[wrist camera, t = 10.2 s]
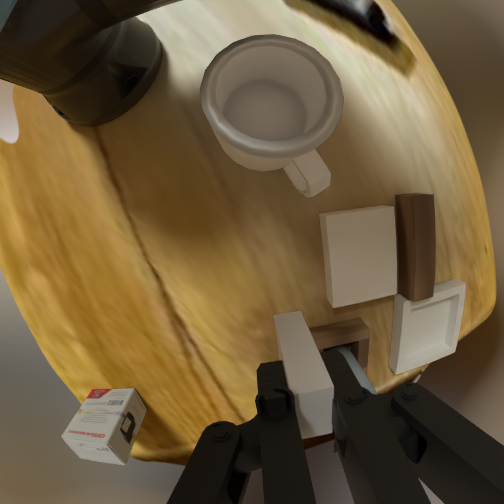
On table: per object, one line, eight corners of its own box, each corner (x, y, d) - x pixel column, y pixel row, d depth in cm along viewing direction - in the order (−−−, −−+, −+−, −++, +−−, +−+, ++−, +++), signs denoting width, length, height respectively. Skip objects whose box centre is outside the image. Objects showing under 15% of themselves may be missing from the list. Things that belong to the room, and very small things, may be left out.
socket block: (309, 373, 34) (313, 387, 31) (306, 329, 32) (311, 341, 29) (358, 362, 34) (366, 375, 31) (360, 318, 32) (369, 328, 29)
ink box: (105, 410, 35) (78, 459, 23) (91, 388, 34) (58, 436, 22) (148, 410, 35) (126, 467, 23) (135, 387, 34) (106, 444, 22)
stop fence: (398, 291, 31) (414, 302, 28) (395, 194, 29) (413, 196, 25) (416, 286, 31) (433, 296, 28) (414, 193, 29) (433, 194, 25)
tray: (388, 365, 34) (395, 374, 31) (394, 295, 32) (403, 302, 29) (446, 344, 34) (454, 351, 31) (455, 278, 31) (466, 283, 29)
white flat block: (326, 298, 32) (333, 308, 29) (318, 213, 30) (325, 215, 27) (385, 285, 32) (396, 293, 29) (381, 205, 30) (393, 206, 27)
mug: (345, 165, 28) (392, 155, 18) (268, 216, 29) (281, 229, 19) (275, 68, 26) (288, 17, 15) (197, 114, 27) (173, 77, 16)
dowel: (323, 359, 33) (360, 444, 18) (322, 339, 33) (364, 424, 18) (345, 354, 33) (390, 434, 18) (345, 335, 32) (396, 413, 18)
